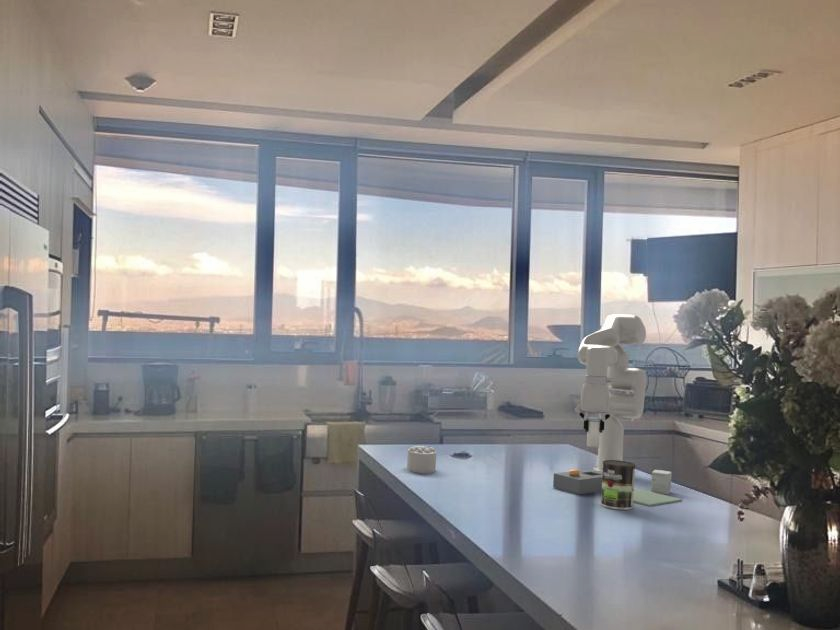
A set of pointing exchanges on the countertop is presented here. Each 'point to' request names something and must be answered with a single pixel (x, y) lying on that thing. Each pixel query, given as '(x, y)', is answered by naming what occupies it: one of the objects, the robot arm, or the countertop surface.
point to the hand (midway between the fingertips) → (593, 431)
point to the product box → (661, 481)
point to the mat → (652, 498)
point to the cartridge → (593, 432)
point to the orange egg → (574, 472)
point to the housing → (579, 482)
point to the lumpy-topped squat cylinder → (421, 459)
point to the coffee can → (618, 484)
